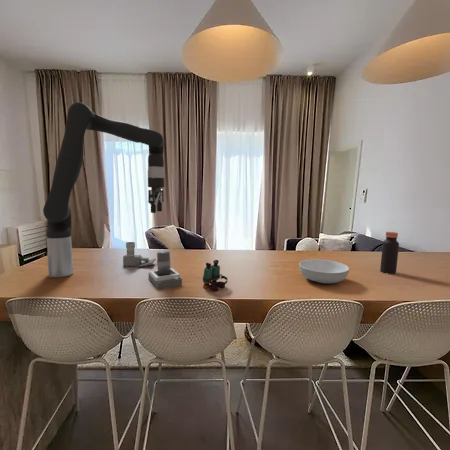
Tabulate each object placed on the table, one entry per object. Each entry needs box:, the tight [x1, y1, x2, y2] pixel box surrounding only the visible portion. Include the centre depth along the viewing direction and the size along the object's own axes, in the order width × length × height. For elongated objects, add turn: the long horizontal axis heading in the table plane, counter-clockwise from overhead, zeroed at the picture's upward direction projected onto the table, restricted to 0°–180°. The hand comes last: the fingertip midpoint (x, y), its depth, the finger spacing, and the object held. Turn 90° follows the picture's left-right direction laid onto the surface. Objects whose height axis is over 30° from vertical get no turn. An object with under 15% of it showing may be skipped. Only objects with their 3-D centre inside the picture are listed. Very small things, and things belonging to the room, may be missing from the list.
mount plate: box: [148, 267, 183, 290], centre depth 114 cm, size 10×14×4 cm
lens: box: [156, 250, 172, 277], centre depth 113 cm, size 6×6×10 cm
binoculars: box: [202, 259, 229, 292], centre depth 107 cm, size 9×11×10 cm
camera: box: [122, 241, 157, 268], centre depth 137 cm, size 9×12×15 cm
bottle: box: [379, 231, 400, 275], centre depth 132 cm, size 7×7×20 cm
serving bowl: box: [298, 258, 350, 284], centre depth 120 cm, size 21×21×7 cm
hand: (156, 212), depth 127 cm, fingers open, 8 cm apart
